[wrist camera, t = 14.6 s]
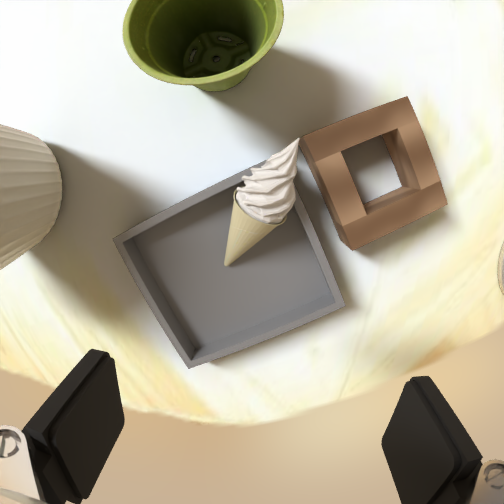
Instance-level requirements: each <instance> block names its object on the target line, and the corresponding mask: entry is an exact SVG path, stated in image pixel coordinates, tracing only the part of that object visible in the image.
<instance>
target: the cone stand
mask: <svg viewBox="0 0 504 504" xmlns="http://www.w3.org/2000/svg"><path fill="white" fill-rule="evenodd" d="M379 135H382V137H383V139H384V142H385V144H386V146H387V149H388V151H389V154H390V156H391V159H392V161H393V164H394V166H395V169H396V172H397V174H398V177H399V180H400V182H401V185H402V187H400V188H398V189H396V190H394V191H392V192H389V193H387V194H385V195H383V196H381V197H379V198H376V199H374V200H372V201H370V202H368V203H365V204H362V201H361V199H360V196H359V194H358V191H357V189H356V186H355V184H354V182H353V179H352V177H351V174H350V172H349V170H348V167H347V165H346V163H345V160H344V158H343V156H342V154H341V151H342V150H345V149H347V148H350V147H352V146H354V145H357V144H359V143H362V142H364V141H367V140H369V139H372V138H374V137H376V136H379ZM299 146H300V148H301V150H302V152H303V154H304V157H305V159H306V161H307V163H308V165H309V167H310V170H311V172H312V174H313V176H314V178H315V181H316V183H317V185H318V187H319V190H320V192H321V194H322V197H323V199H324V201H325V204H326V206H327V208H328V211H329V213H330V215H331V218H332V220H333V223H334V225H335V228H336V230H337V232H338V235H339V237H340V240H341V241H342V242H343V243H344V244H345V245H346V246H348V247H349V248H350V249H351V250H352V251H353V250H355V249H357V248H359V247H361V246H364V245H366V244H368V243H370V242H372V241H374V240H376V239H378V238H380V237H382V236H385V235H387V234H389V233H391V232H393V231H395V230H397V229H399V228H401V227H403V226H405V225H407V224H409V223H411V222H413V221H415V220H417V219H419V218H421V217H423V216H425V215H427V214H429V213H431V212H433V211H435V210H437V209H439V208H441V207H443V206H445V205H447V200H446V197H445V194H444V190H443V187H442V184H441V181H440V178H439V175H438V172H437V169H436V166H435V163H434V160H433V157H432V155H431V152H430V149H429V146H428V144H427V141H426V139H425V136H424V134H423V131H422V129H421V126H420V124H419V121H418V119H417V117H416V114H415V112H414V110H413V107H412V105H411V103H410V101H409V99H408V96H406V97H404V98H401V99H398V100H395V101H392V102H389V103H386V104H384V105H381V106H378V107H375V108H373V109H370V110H367V111H364V112H362V113H359V114H357V115H354V116H351V117H349V118H346V119H344V120H341V121H339V122H336V123H334V124H331V125H329V126H326V127H324V128H321V129H319V130H316V131H314V132H312V133H309V134H307V135H304V136H303V137H301V138H300V139H299Z"/></svg>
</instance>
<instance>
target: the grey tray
mask: <svg viewBox="0 0 504 504" xmlns="http://www.w3.org/2000/svg"><path fill="white" fill-rule="evenodd" d="M266 161H267V160H265V161H263V162H261V163H259V164H257V165H254V166H252V167H250V168H248V169H246V170H244V171H242V172H240V173H237V174H235V175H233V176H231V177H229V178H227V179H225V180H223V181H221V182H219V183H217V184H215V185H213V186H211V187H209V188H207V189H205V190H203V191H201V192H199V193H197V194H195V195H193V196H191V197H189V198H187V199H185V200H183V201H181V202H179V203H177V204H175V205H173V206H171V207H170V208H168V209H166V210H164V211H162V212H160V213H158V214H156V215H155V216H153V217H151V218H149V219H147V220H145V221H144V222H142V223H140V224H138V225H136V226H134V227H133V228H131V229H129V230H127V231H126V232H124V233H122V234H120V235H118V236H117V237H115V238H113V241H114V243H115V245H116V247H117V249H118V250H119V252H120V254H121V256H122V258H123V260H124V262H125V264H126V266H127V267H128V269H129V271H130V273H131V275H132V277H133V278H134V280H135V282H136V284H137V286H138V287H139V289H140V291H141V293H142V294H143V296H144V298H145V300H146V301H147V303H148V305H149V307H150V308H151V310H152V312H153V313H154V315H155V317H156V318H157V320H158V322H159V323H160V325H161V327H162V328H163V330H164V331H165V333H166V335H167V336H168V338H169V340H170V341H171V343H172V344H173V346H174V347H175V349H176V351H177V352H178V354H179V355H180V357H181V358H182V360H183V361H184V363H185V364H186V366H187V367H188V369H190V368H192V367H195V366H198V365H201V364H204V363H207V362H210V361H212V360H215V359H218V358H221V357H223V356H226V355H229V354H231V353H234V352H237V351H239V350H242V349H245V348H247V347H250V346H252V345H255V344H258V343H260V342H263V341H265V340H268V339H270V338H273V337H275V336H277V335H280V334H282V333H285V332H287V331H290V330H292V329H294V328H297V327H299V326H301V325H304V324H306V323H308V322H311V321H313V320H315V319H318V318H320V317H322V316H324V315H327V314H329V313H331V312H333V311H336V310H338V309H340V308H342V307H344V306H345V303H344V300H343V298H342V295H341V293H340V290H339V288H338V285H337V283H336V280H335V278H334V275H333V273H332V270H331V268H330V265H329V263H328V260H327V258H326V256H325V253H324V251H323V248H322V246H321V244H320V241H319V239H318V237H317V234H316V232H315V229H314V227H313V225H312V223H311V220H310V218H309V216H308V213H307V211H306V209H305V207H304V204H303V202H302V200H301V198H300V195H299V193H298V191H297V189H296V187H295V184H294V182H293V184H294V189H295V194H296V195H295V198H296V200H295V202H294V204H293V206H292V208H291V209H290V210H289V212H288V213H287V214H286V215H287V217H286V220H285V222H284V223H283V224H281V225H278V226H277V227H275V228H274V229H273V230H272V231H271V232H270V233H268V234H267V235H266V236H265V237H263V238H262V239H261V240H260V241H258V242H257V243H256V244H255V245H254V246H252V247H251V248H250V249H249V250H247V251H246V252H245V253H244V254H242V255H241V256H240V257H239V258H237V259H236V260H235V261H234V262H233V263H231V264H230V265H229V266H225V265H224V261H225V254H226V247H227V241H228V234H229V228H230V223H231V216H232V210H233V204H234V192H235V190H236V189H237V187H243V186H246V185H245V183H244V181H243V180H242V177H243V176H244V175H245V176H249V177H250V176H252V175H253V174H252V172H251V170H250V169H251V168H261V166H263V165H264V164H265V163H266Z"/></svg>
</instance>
